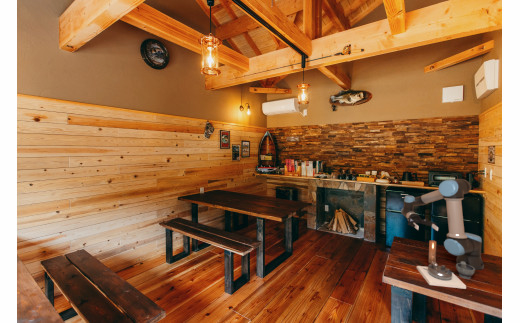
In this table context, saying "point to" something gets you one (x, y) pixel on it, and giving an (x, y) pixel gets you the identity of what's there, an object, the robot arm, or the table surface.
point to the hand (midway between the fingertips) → (427, 228)
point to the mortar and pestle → (465, 270)
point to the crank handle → (435, 269)
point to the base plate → (454, 282)
